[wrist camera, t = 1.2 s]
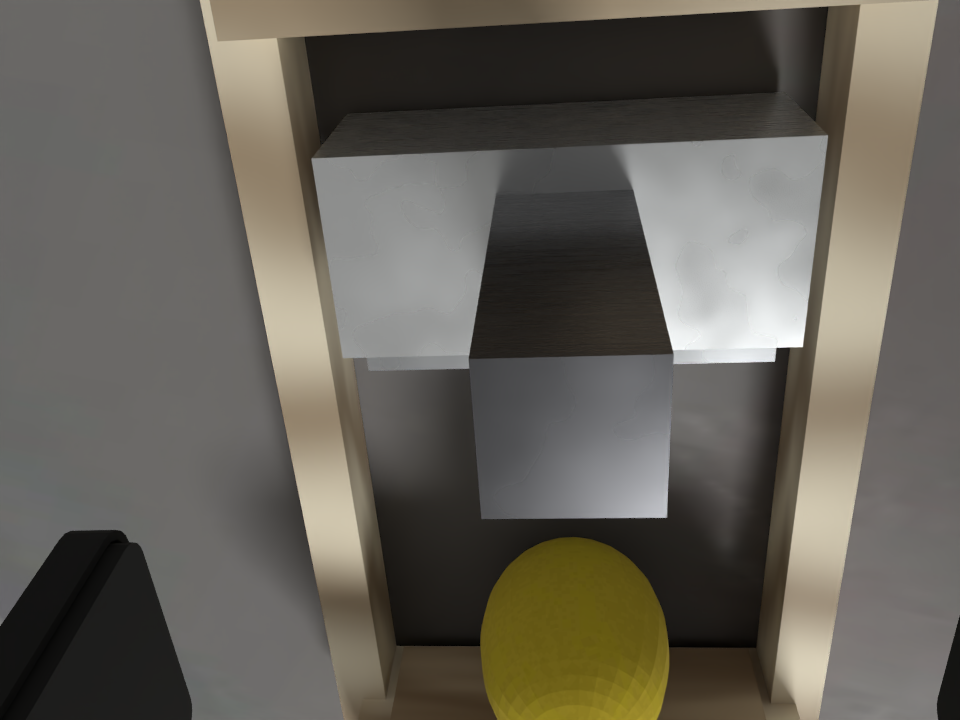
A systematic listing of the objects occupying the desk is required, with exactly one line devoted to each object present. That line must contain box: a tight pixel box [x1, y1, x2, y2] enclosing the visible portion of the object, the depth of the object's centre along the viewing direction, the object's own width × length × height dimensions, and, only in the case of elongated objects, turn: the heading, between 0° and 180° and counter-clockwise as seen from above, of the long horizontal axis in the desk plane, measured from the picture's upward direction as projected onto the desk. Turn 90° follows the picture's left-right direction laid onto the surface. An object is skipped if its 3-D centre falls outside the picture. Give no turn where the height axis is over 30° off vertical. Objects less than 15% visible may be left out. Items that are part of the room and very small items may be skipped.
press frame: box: [200, 0, 939, 720], centre depth 24 cm, size 26×16×8 cm, turn 4°
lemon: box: [480, 537, 669, 720], centre depth 27 cm, size 6×6×8 cm
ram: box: [311, 92, 828, 519], centre depth 19 cm, size 6×11×12 cm, turn 94°
